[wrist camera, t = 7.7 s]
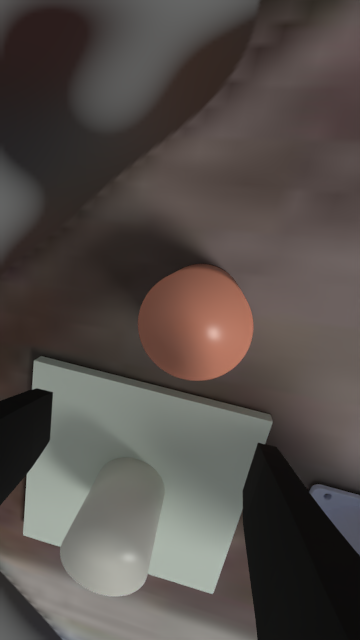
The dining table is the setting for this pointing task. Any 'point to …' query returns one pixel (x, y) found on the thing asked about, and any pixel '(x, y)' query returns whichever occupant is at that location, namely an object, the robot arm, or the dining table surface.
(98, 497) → the off-white rounded cylinder
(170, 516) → the baseplate
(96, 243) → the dining table surface
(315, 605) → the robot arm
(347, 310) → the dining table surface
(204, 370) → the pink rounded piece
